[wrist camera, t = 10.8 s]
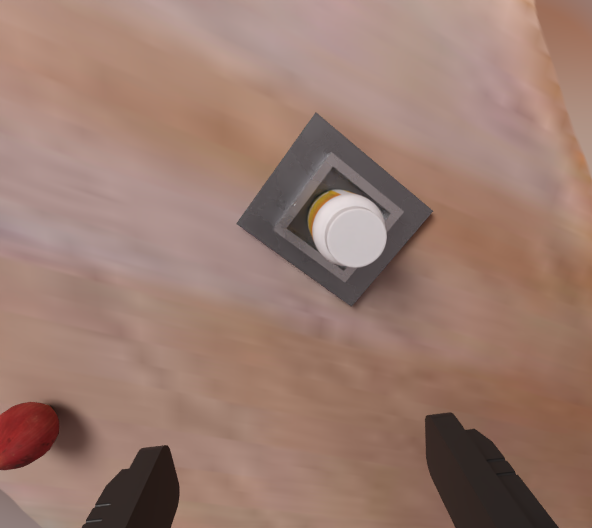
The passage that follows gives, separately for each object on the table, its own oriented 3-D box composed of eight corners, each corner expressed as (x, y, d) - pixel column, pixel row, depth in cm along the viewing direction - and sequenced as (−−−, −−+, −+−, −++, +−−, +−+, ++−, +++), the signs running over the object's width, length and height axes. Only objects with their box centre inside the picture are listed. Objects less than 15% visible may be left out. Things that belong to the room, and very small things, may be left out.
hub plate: (428, 209, 32) (444, 214, 29) (349, 302, 35) (355, 315, 31) (314, 114, 30) (318, 107, 26) (238, 221, 32) (232, 227, 29)
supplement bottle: (307, 247, 32) (316, 280, 22) (306, 189, 30) (315, 198, 21) (363, 245, 32) (396, 277, 22) (365, 188, 30) (400, 195, 21)
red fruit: (86, 413, 38) (35, 477, 30) (48, 437, 38) (-11, 505, 31) (48, 377, 36) (-16, 433, 28) (10, 402, 37) (-63, 464, 29)
